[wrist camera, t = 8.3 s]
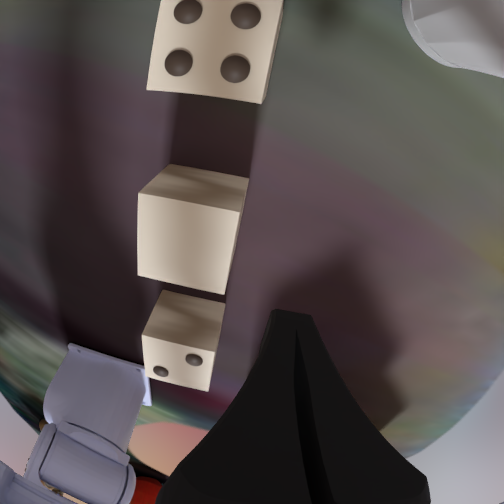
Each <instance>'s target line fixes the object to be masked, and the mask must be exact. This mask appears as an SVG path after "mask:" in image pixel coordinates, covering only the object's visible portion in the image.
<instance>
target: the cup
mask: <svg viewBox="0 0 504 504" xmlns="http://www.w3.org/2000/svg"><path fill="white" fill-rule="evenodd" d="M402 13H403V18H404V21H405V24H406V27H407V29H408V31H409V33H410V35H411V36H412V38H413V39H414V41H415V42H416V44H417V45H418V46H419V47H420V48H421V49H422V50H423V51H424V52H425V53H426V54H427V55H428V56H429V57H431V58H432V59H434V60H435V61H437V62H439V63H441V64H443V65H446V66H449V67H454V68H466V69H470V70H475V71H479V72H483V73H487V74H491V75H495V76H498V77H502V78H504V0H402Z"/></svg>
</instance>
